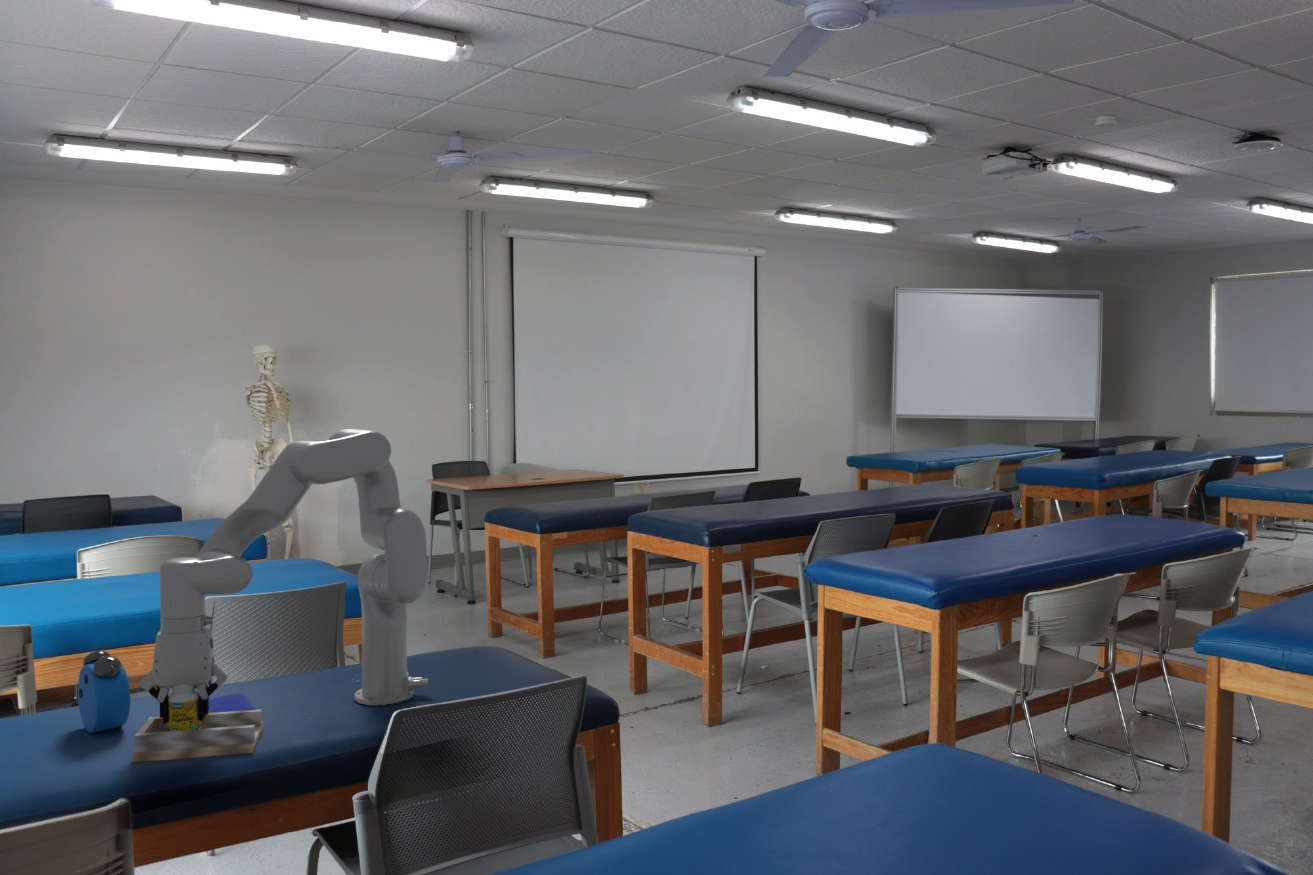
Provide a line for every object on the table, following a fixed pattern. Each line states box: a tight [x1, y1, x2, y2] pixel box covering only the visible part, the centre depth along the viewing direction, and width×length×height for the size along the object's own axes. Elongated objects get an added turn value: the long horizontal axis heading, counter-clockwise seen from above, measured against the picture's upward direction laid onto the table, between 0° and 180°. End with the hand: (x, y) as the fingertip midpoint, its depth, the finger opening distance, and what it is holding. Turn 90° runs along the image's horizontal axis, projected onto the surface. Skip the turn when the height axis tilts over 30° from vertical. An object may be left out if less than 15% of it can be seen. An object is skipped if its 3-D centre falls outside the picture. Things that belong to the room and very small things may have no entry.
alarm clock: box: [77, 649, 131, 734], centre depth 184 cm, size 13×6×15 cm, turn 45°
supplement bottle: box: [168, 685, 201, 731], centre depth 176 cm, size 5×5×10 cm
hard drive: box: [209, 692, 257, 713], centre depth 198 cm, size 2×8×12 cm
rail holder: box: [131, 709, 264, 763], centre depth 177 cm, size 20×14×4 cm
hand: (184, 718), depth 176 cm, fingers closed on supplement bottle, 5 cm apart
